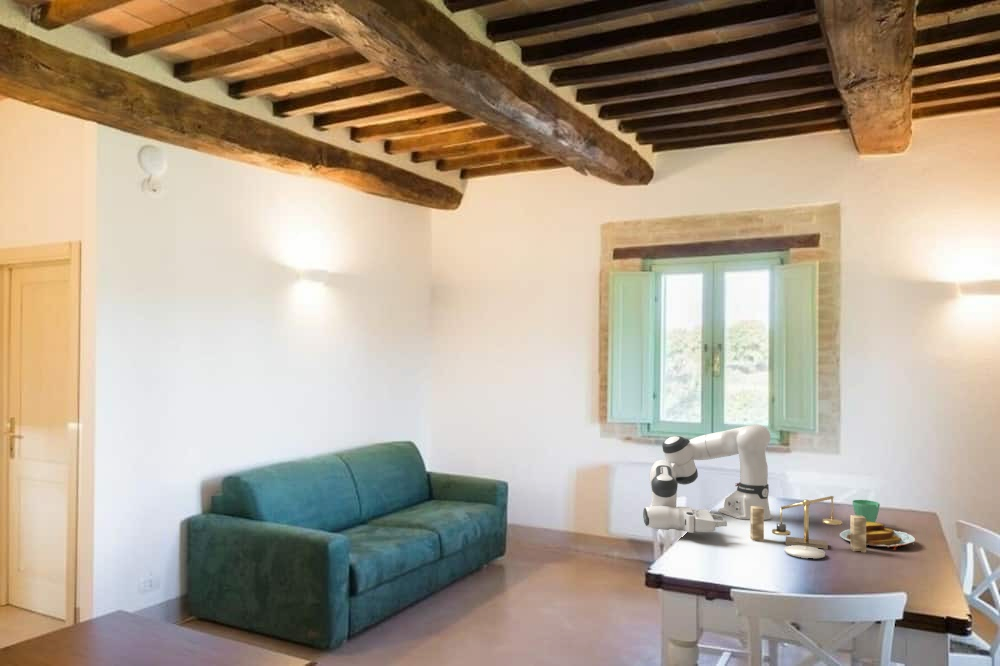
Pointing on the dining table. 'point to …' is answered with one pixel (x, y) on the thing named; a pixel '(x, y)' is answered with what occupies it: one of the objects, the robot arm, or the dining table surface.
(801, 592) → the dining table surface
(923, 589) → the dining table surface
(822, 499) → the balance
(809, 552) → the dish
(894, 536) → the food on plate
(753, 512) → the column
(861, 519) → the column
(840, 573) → the dining table surface
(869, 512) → the mug
